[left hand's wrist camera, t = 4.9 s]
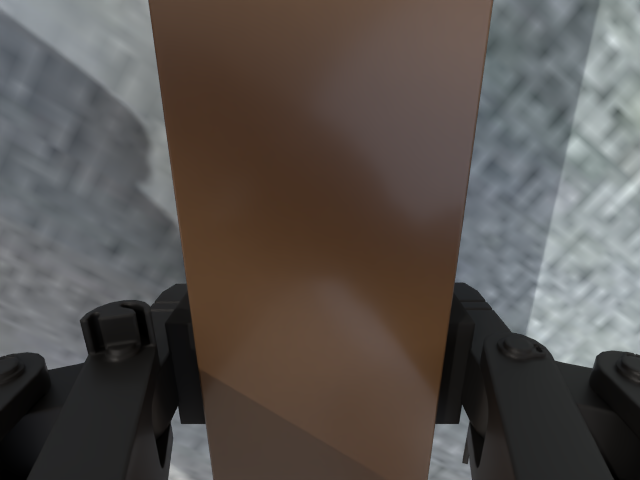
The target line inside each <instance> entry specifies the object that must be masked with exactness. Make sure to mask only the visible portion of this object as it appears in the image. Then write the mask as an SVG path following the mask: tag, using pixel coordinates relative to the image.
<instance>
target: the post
mask: <svg viewBox="0 0 640 480" xmlns="http://www.w3.org/2000/svg"><path fill="white" fill-rule="evenodd" d="M148 1H149V8H150V16H151V23H152V30H153V38H154V45H155V53H156V60H157V67H158V75H159V82H160V90H161V97H162V104H163V112H164V119H165V126H166V134H167V141H168V149H169V156H170V163H171V171H172V178H173V185H174V193H175V200H176V208H177V215H178V222H179V230H180V237H181V245H182V252H183V259H184V267H185V274H186V281H187V289H188V296H189V304H190V311H191V318H192V326H193V333H194V340H195V348H196V355H197V363H198V370H199V377H200V385H201V392H202V400H203V407H204V414H205V422H206V429H207V436H208V444H209V451H210V459H211V466H212V473H213V480H428V473H429V465H430V458H431V451H432V444H433V436H434V429H435V422H436V414H437V407H438V400H439V393H440V385H441V378H442V371H443V363H444V356H445V349H446V342H447V334H448V327H449V320H450V312H451V305H452V298H453V291H454V283H455V276H456V269H457V261H458V254H459V247H460V240H461V232H462V225H463V218H464V210H465V203H466V196H467V189H468V181H469V174H470V167H471V159H472V152H473V145H474V138H475V130H476V123H477V116H478V108H479V101H480V94H481V86H482V79H483V72H484V65H485V57H486V50H487V43H488V35H489V28H490V21H491V14H492V6H493V0H148Z"/></svg>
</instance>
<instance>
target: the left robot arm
mask: <svg viewBox="0 0 640 480" xmlns="http://www.w3.org/2000/svg"><path fill="white" fill-rule="evenodd" d="M80 323H81V327H82V331H83V335H84V339H85V343H86V347H87V351H88V357H87V359H86V361H85V363H81V364H77V365H72V366H66V367H61V368H56V369H51V370H48V369H47V366H46V363H45V360H44V358H43V357H42V356H41V355H39V354H37V353H29V352H26V353H18V354H10V355H7V356H2V357H0V480H168V476H169V468H170V460H171V452H172V444H173V433H172V427H171V420H172V417H173V415H174V413H175V411H176V409H177V407H178V408H179V414H180V420H181V424H206V422H205V414H204V407H203V400H202V392H201V385H200V377H199V370H198V363H197V355H196V348H195V340H194V333H193V326H192V318H191V311H190V304H189V296H188V289H187V284H175V285H174V286H172V287H170V288H169V289H167V290H165V291H164V292H162V294H161V295H160V296H159V297H158V298H157V300H156V301H155V304H153V305H152V306H151V307H150V306H149V305H148V304H147V303H145V302H142V301H137V300H123V301H118V302H113V303H109V304H106V305H103V306H100V307H97V308H96V309H94V310H92V311H90V312H89V313H87V314H86V315H85V316H84V317H83V318H82V319H81V320H80ZM462 405H463V407H464V409H465V411H466V413H467V416H468V418H469V420H470V421H469V427H468V433H467V438H466V444H465V449H464V455H463V462H462V463H465V464H468V459H470V467H471V475H472V480H640V355H638V354H636V355H635V354H634V353H630V352H621V351H606V352H601V353H600V354H599V355H597V356H596V359H595V363H594V366H593V368H588V367H582V366H577V365H572V364H567V363H562V362H558V361H555V360H554V358H553V356H552V354H551V353H550V352H549V351H548V350H547V348H546V347H545V346H543V345H542V344H540V343H539V342H537V341H536V340H534V339H531V338H529V337H527V336H524V335H521V334H516V333H512V332H511V331H510V330H509V328H508V327H507V326H506V325H505V324H504V322H503V321H502V320H501V319H500V317H499V316H498V315H497V314H496V313H495V311H494V310H492V308H491V307H490V305H489V304H488V303H487V302H485V299H484V298H483V297H482V296H481V294H480V293H479V292H478V291H477V290H475V289H474V288H472V287H470V286H469V285H467V284H465V283H454V291H453V298H452V305H451V312H450V320H449V327H448V334H447V342H446V349H445V356H444V363H443V371H442V378H441V385H440V393H439V400H438V407H437V414H436V422H435V424H459V420H460V414H461V408H462Z"/></svg>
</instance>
